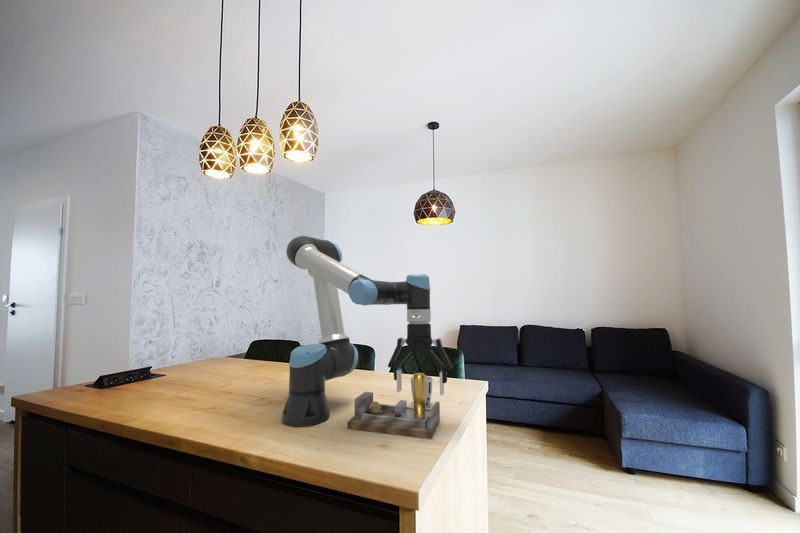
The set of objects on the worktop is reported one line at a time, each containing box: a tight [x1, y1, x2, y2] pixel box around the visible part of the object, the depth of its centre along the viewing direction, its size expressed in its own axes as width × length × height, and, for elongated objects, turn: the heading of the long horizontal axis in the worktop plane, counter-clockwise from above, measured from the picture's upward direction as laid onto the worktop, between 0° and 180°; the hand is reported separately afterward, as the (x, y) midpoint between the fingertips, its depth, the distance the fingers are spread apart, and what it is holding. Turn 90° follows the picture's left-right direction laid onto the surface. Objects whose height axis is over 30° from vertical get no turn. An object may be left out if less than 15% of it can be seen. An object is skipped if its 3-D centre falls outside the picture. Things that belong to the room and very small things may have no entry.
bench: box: [346, 391, 441, 440], centre depth 99 cm, size 26×14×8 cm, turn 73°
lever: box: [395, 372, 430, 426], centre depth 98 cm, size 10×8×14 cm
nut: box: [369, 400, 381, 415], centre depth 101 cm, size 4×4×4 cm
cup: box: [410, 375, 433, 409], centre depth 117 cm, size 8×8×10 cm
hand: (420, 392), depth 97 cm, fingers open, 13 cm apart
